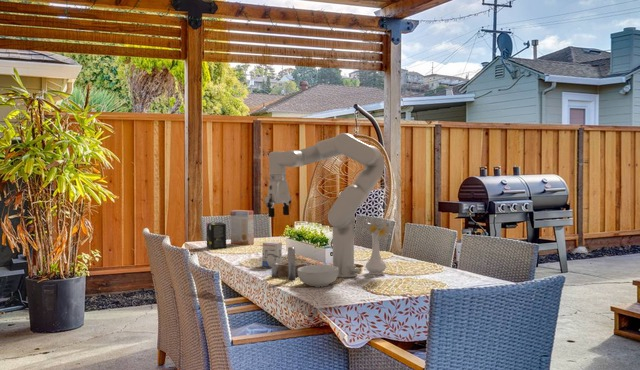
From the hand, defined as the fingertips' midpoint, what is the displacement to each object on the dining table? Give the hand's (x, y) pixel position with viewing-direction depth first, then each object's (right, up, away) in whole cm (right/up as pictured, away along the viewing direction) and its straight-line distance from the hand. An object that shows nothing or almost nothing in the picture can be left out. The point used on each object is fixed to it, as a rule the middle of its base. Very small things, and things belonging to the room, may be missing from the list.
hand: (279, 215), depth 272 cm
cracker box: (-29, -23, +96) cm, 103 cm away
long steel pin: (+7, -27, -16) cm, 32 cm away
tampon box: (-43, -23, +81) cm, 95 cm away
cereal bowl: (+18, -27, -27) cm, 42 cm away
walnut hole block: (+5, -26, -5) cm, 27 cm away
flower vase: (+45, -26, -4) cm, 52 cm away
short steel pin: (-1, -27, -10) cm, 28 cm away
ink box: (-5, -26, +18) cm, 32 cm away
